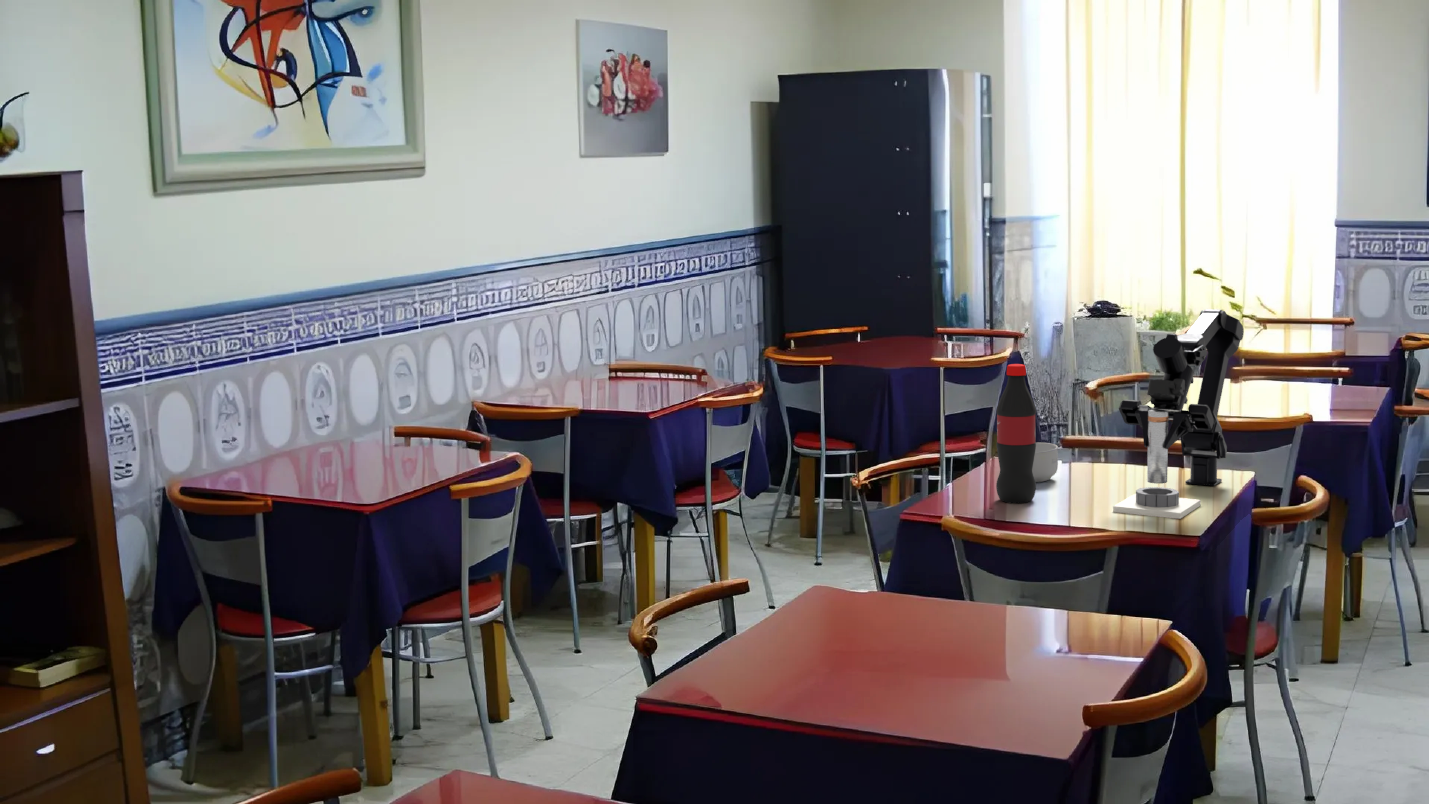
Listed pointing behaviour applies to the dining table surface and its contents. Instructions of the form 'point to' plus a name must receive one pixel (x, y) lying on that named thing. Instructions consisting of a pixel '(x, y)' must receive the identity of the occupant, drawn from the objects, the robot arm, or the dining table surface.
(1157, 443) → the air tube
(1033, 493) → the cola bottle
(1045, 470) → the teacup
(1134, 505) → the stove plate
